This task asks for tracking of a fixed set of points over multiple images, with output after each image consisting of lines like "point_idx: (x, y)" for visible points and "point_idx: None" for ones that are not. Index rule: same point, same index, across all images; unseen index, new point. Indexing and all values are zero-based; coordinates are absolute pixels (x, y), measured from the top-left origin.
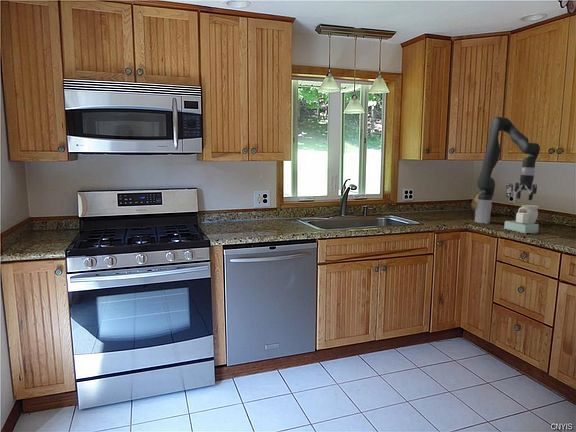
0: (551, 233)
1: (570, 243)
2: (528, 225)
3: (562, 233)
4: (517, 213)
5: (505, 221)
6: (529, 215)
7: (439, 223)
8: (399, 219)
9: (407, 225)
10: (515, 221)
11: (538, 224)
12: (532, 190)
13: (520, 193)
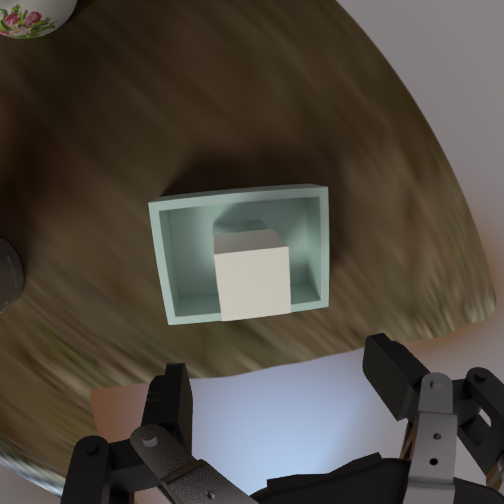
0: (335, 113)
1: (481, 248)
2: (328, 282)
3: (343, 53)
4: (231, 318)
5: (173, 323)
6: (50, 6)
7: (58, 445)
8: (26, 477)
9: None
10: (162, 235)
11: (325, 187)
12: (472, 447)
13: (179, 422)
